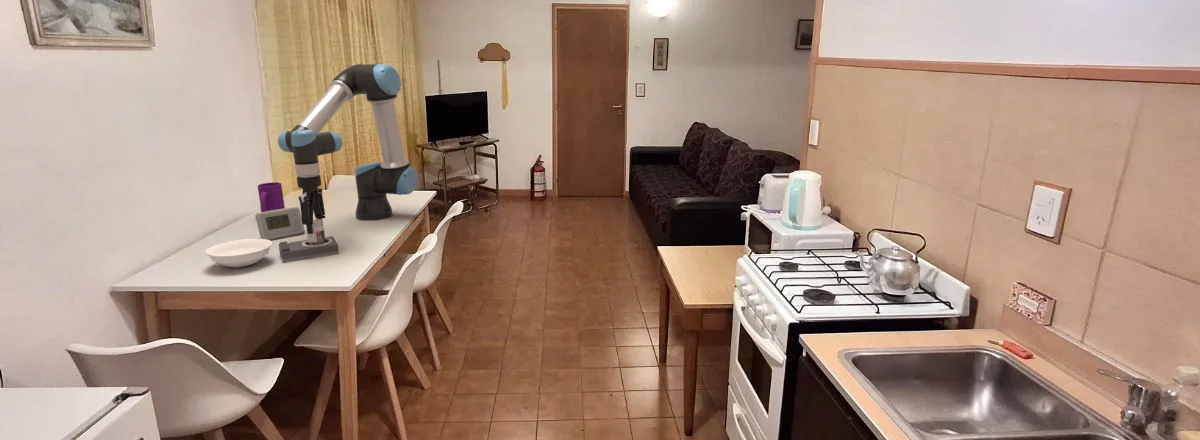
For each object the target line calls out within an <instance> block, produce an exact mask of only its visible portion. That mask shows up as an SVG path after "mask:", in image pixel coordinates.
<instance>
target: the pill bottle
mask: <svg viewBox="0 0 1200 440" xmlns="http://www.w3.org/2000/svg"><path fill="white" fill-rule="evenodd" d="M313 224H315V230H316V238H317V242H309V245H313V246H314V245H321V244H325V243H326V242H325V237H326V235H325V234H324V233H325V227H324V228H323V227H322V226H321V221H320V220H314V219H313Z"/></svg>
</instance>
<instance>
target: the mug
mask: <svg viewBox="0 0 1200 440" xmlns="http://www.w3.org/2000/svg"><path fill="white" fill-rule="evenodd" d="M257 191H258V196H259V197H258V198H259V205H260V206H259V207H260V212H266V211H271V210H277V209H283V208H286V207H285V200H284V195H283V194H284V192H283V186H282V183H281V182H263V183H260V184H257Z"/></svg>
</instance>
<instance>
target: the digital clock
mask: <svg viewBox="0 0 1200 440" xmlns="http://www.w3.org/2000/svg"><path fill="white" fill-rule="evenodd" d="M254 216H255V222H256V224H257V229H258V232H259V237H260V239H266V240H270V241H275V240H280V239H285V238H291V237H295V236H297V235H303V234H305V232H306V230H305V225H303V224H302V217H301V209H300V208H299V206H291V207H285V208H283V209H277V210H271V211H266V212H261V211H260V212H257V213H256V214H254Z"/></svg>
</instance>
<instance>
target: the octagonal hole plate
mask: <svg viewBox="0 0 1200 440" xmlns="http://www.w3.org/2000/svg"><path fill="white" fill-rule="evenodd" d="M325 242H326V243H325V244H321V245H314V246H313V245H309V242H308V239H304V240H297V241H290V242H289V241H279V243H278V249H279V250H278V251H279V255H280V259H281V262H282V263H289V262H295V261H302V260H307V259H313V258H315V259H316V258H319V257H326V256H333V255H339V254H340V252H339V251H340V250H339V244H338V242H337V241H336V239H335V238H334V236H325Z"/></svg>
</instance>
